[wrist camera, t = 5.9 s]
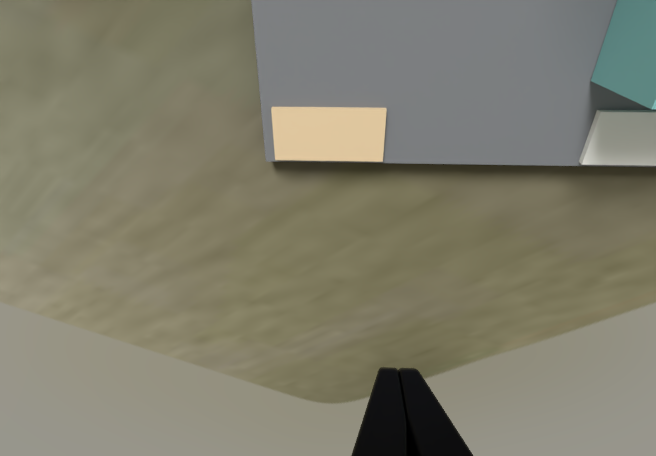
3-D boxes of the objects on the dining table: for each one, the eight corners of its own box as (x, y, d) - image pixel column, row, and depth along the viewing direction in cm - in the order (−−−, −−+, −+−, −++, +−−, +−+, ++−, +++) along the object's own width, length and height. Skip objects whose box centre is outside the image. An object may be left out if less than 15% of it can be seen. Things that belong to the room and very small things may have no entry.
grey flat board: (860, -192, 13) (907, -206, 12) (684, 159, 19) (705, 170, 18) (241, -181, 14) (231, -194, 13) (269, 153, 20) (264, 163, 19)
